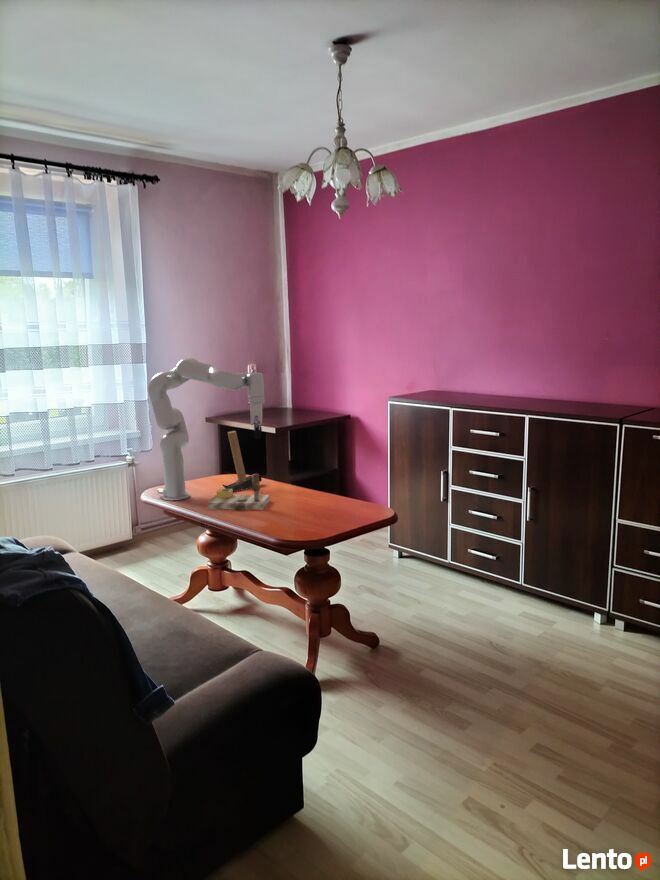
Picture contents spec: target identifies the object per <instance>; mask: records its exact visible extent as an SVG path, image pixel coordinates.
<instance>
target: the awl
mask: <svg viewBox="0 0 660 880" xmlns="http://www.w3.org/2000/svg"><path fill="white" fill-rule="evenodd" d="M259 475H260V473H253V474H251V476H252V484H253V487H252V491H253V495H254V501H259V495H260V491H261V490H260V482H259Z"/></svg>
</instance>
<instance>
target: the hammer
mask: <svg viewBox="0 0 660 880" xmlns="http://www.w3.org/2000/svg"><path fill="white" fill-rule="evenodd" d="M227 436H228V441H229V444H230V449H231V454H232V458H233V464H234V467H235V471H236V476H237V480H236V481H235V482H233V483H230V484H226V485H225V484H221V485H222V487H223V489H233V492H234V491H235V492H238V491H237V490H240V491H242V490H241V489H244V490H247V489H246V488H248V489H250V487H251V488H253V484H252V475H248V476H247V475H246V469H245V466H244V461H243V457H242V453H241V452H242V451H241V447H240V444H239V439H238V434H237V431H236V430H232V431H231V430H230V431H227ZM261 482H262V476H261V475H260V474H259V483H261Z"/></svg>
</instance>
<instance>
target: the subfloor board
mask: <svg viewBox="0 0 660 880" xmlns="http://www.w3.org/2000/svg"><path fill="white" fill-rule="evenodd" d="M270 502H271V500H270V494H259V501H254V494H233V495H232V496H231V497H230V498H217V494H216V495H215V496H213V497H212V498H211V499H210V500H209V501H208V502H206V503H207V510H216V511H217V510H220V511H221V509H223V510H224V509H229V510H231V509H232V510H231V511H233V510H234V511H236V512H237V511H238V512H241V511H242V512H244V511H246V510H247V511H248V510H249V511H256V510H257V511H263V510H264V509H265V508H266V506H267V505H268V504H269V503H270ZM264 507H265V508H264Z"/></svg>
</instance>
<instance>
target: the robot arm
mask: <svg viewBox="0 0 660 880" xmlns="http://www.w3.org/2000/svg"><path fill="white" fill-rule="evenodd" d="M190 380H193V381H198V382H203V383H206V384H209V385H212V386H215V387H218V388H222V389H225V390H230V391H239V390H242V389H247V391H246V392H247V404H250V405H249V407H250V410H249V412H250V414H249V415H250V426H253V439H254V440H261V439H262V435H263V433H262V431H263V430H262V424H263V404H265V402H266V401H265V384H264V383H265V382H264V381H265V380H264V374H263V373H262V372H244V371H243V372H242V371H241V372H235V373H234V372H233V373H232V372H228V371H224V370H220V369H218V368H217V367H215V366H214V365H213V364H210V363H205V362H199V361H198V359H195V358H185V359H181V360H180V361H178V362H177V364H176V367H174V368H172V369H171V370H166V371H162V372H159V373H157V374H155V375H154V376H152V378H151V379H150V381H149V382H148V385H147V386H148V387H147V392H148V396H149V399H150V402H151V405H152V406H151V407H152V409H153V414H154V417H155V421H156V424H157V426H158V428H159V429H160V430H162V431H167V432H166V433H164V435H163V436H162V437H161V439H160V441H159V448H160V452H161V456H162V466H163V478H164V488H157V491H156V492H157V493H158V494H159V495H161V494H162V500H164V501H170V502H171V501H172V502H173V501H174V500H175V501H182V500H185V499H188V498H189V497H190V493H189V492H187V490H186V487H187V486H186V476H185V475H186V474H185V461H184V456H183V452H182V449H184V448H186V447H187V445H188V444H189V442H190V441H189V440H190V437H189V432H188V429H187V425H186V421H185V417H184V415H183V412H182V411H180V409H178V408H177V407H172V402H171V399H170V397H169V395H168V393H167V391H168V390H172V389H176V388H179V387H180V386H182V385H184V384H185V383H186V382H188V381H190Z"/></svg>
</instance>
